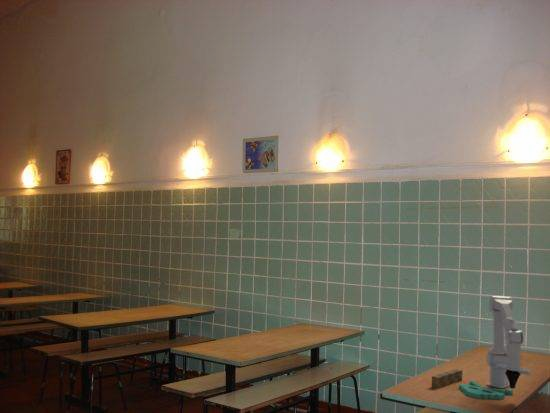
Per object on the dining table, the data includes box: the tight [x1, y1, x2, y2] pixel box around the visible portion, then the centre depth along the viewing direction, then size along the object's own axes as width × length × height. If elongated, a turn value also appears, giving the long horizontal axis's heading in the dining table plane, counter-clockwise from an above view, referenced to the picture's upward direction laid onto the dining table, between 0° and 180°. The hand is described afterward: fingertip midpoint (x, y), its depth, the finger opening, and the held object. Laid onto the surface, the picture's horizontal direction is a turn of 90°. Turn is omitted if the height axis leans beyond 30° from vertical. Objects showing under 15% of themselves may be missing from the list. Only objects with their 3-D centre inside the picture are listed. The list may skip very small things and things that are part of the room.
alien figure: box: [458, 380, 514, 400], centre depth 259 cm, size 20×2×20 cm
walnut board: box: [431, 368, 463, 389], centre depth 272 cm, size 24×3×5 cm, turn 133°
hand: (512, 387), depth 249 cm, fingers closed
